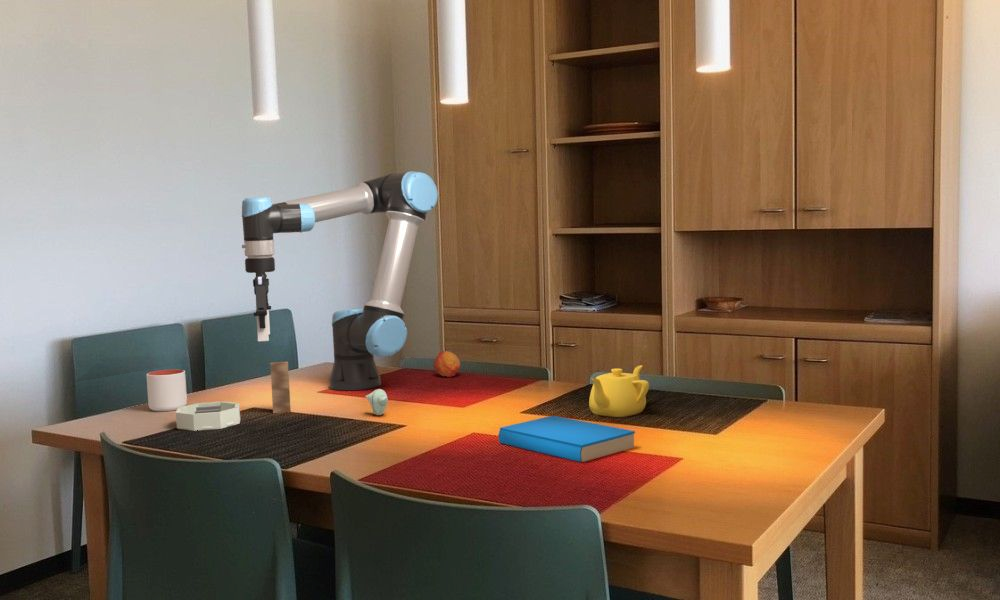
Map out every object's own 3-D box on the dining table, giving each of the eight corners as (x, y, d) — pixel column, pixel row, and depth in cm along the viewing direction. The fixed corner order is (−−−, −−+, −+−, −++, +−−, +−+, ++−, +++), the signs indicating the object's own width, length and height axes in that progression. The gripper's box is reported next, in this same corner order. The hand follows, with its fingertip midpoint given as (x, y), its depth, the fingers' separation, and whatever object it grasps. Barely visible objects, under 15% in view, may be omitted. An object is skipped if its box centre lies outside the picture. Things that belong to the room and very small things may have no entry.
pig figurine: (363, 414, 252) (362, 388, 252) (376, 412, 255) (375, 386, 254) (382, 418, 247) (381, 392, 246) (395, 416, 249) (394, 389, 249)
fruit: (450, 373, 311) (449, 348, 310) (466, 376, 305) (465, 350, 304) (430, 376, 306) (429, 351, 305) (445, 379, 300) (444, 353, 299)
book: (552, 415, 228) (635, 429, 209) (552, 433, 228) (636, 449, 210) (496, 428, 216) (580, 443, 198) (497, 447, 217) (581, 465, 198)
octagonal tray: (241, 415, 257) (240, 399, 257) (239, 427, 242) (238, 411, 242) (179, 419, 254) (178, 404, 253) (174, 432, 239) (173, 416, 238)
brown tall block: (290, 410, 262) (287, 361, 260) (290, 411, 259) (288, 362, 258) (273, 411, 261) (270, 362, 259) (273, 413, 258) (270, 364, 257)
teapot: (624, 424, 231) (623, 378, 230) (570, 417, 242) (569, 373, 241) (673, 408, 248) (672, 365, 247) (621, 401, 258) (620, 360, 257)
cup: (193, 404, 274) (191, 369, 273) (178, 412, 264) (175, 375, 263) (158, 405, 275) (156, 369, 274) (142, 412, 265) (139, 375, 264)
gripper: (247, 255, 269) (251, 332, 271) (242, 259, 244) (247, 344, 246) (275, 254, 270) (279, 331, 272) (273, 258, 246) (278, 342, 248)
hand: (264, 337), depth 259 cm, fingers open, 13 cm apart
